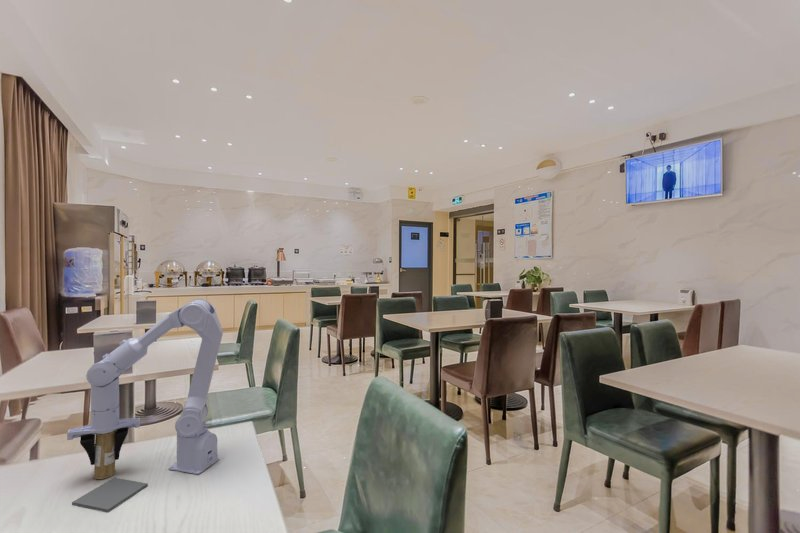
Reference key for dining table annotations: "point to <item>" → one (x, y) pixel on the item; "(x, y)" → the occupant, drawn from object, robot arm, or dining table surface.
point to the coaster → (110, 494)
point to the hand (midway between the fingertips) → (105, 460)
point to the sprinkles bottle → (105, 454)
